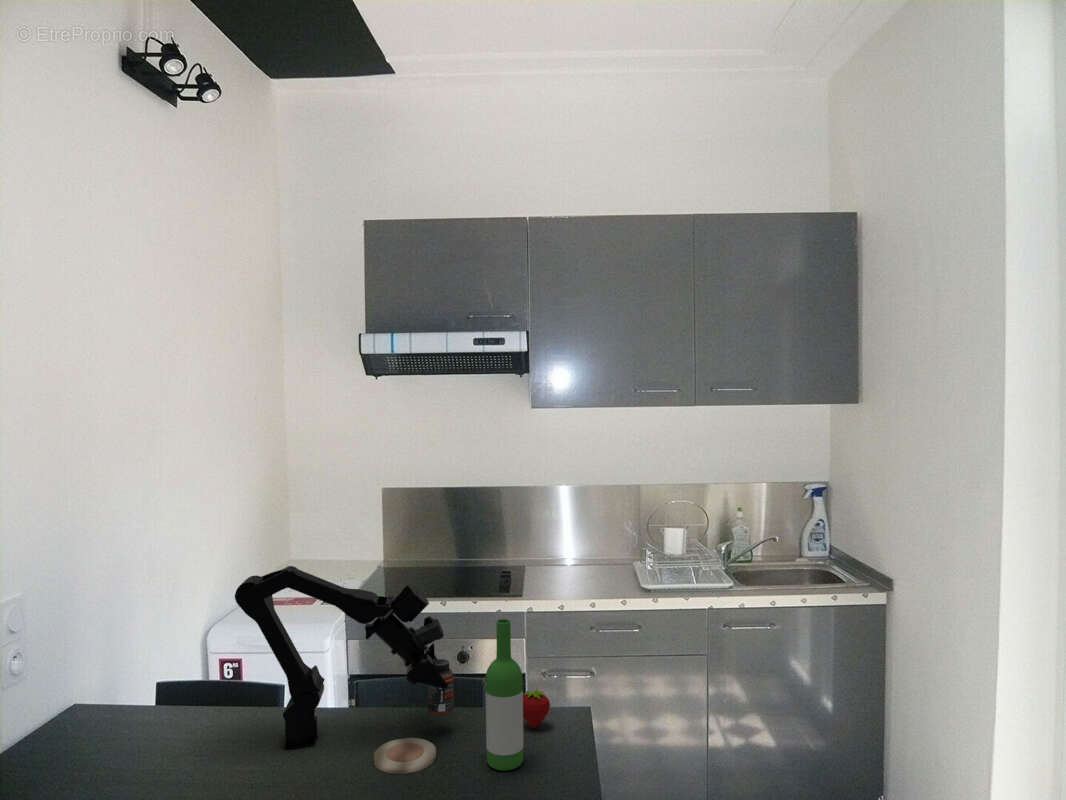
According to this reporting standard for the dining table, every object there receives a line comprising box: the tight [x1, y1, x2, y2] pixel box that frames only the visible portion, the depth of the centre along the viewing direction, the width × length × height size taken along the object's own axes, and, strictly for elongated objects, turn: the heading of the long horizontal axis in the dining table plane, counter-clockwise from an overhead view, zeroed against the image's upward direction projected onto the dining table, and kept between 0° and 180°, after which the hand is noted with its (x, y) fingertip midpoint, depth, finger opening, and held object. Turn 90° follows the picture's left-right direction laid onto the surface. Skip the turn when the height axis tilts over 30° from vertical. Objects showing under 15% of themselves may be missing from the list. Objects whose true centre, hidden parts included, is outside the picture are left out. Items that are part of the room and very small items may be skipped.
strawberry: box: [523, 683, 551, 729], centre depth 170 cm, size 6×8×10 cm
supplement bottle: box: [426, 658, 454, 717], centre depth 169 cm, size 6×6×11 cm
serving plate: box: [373, 737, 437, 775], centre depth 157 cm, size 13×13×1 cm
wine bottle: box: [485, 618, 524, 771], centre depth 154 cm, size 8×8×30 cm
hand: (446, 681), depth 169 cm, fingers closed on supplement bottle, 6 cm apart
